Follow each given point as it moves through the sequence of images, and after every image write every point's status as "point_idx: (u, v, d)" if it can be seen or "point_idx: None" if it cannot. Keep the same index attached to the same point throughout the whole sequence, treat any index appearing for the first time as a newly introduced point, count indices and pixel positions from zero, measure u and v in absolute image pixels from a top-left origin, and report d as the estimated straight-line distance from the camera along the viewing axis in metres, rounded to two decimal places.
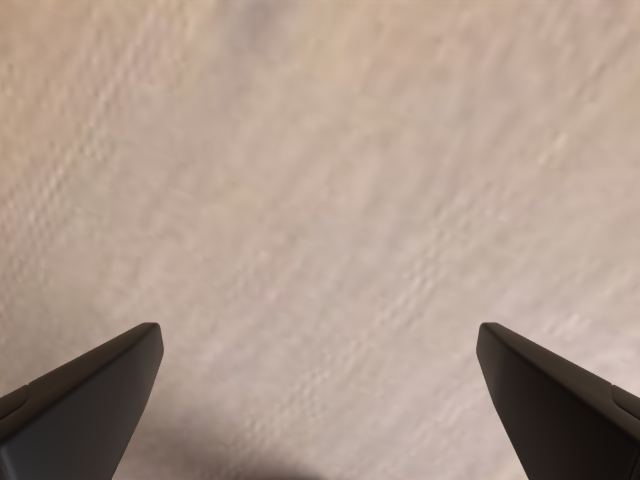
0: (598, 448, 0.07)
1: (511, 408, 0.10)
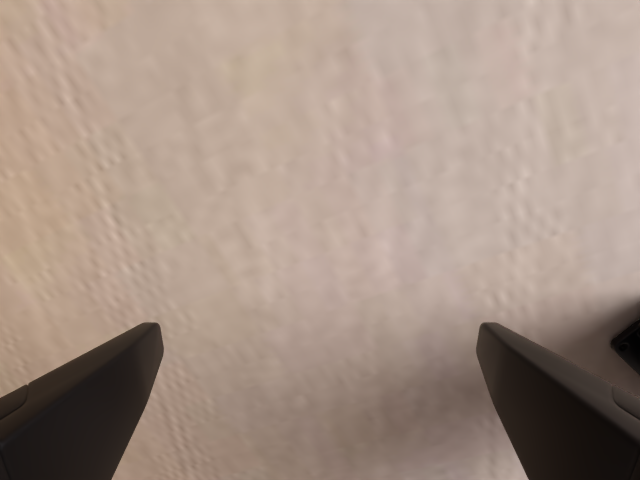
0: (597, 448, 0.07)
1: (511, 408, 0.10)
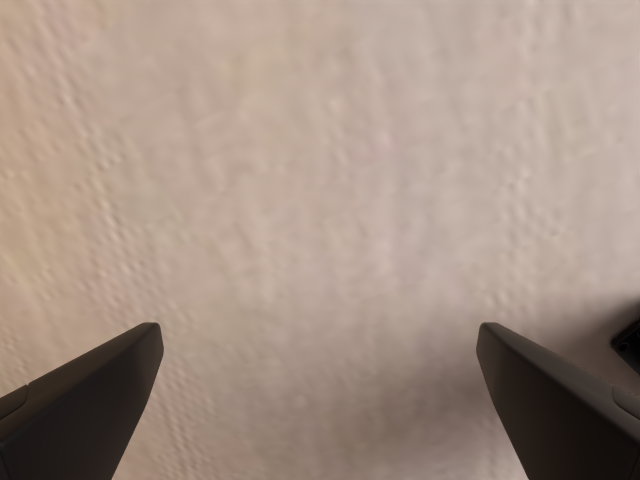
0: (597, 448, 0.07)
1: (511, 408, 0.10)
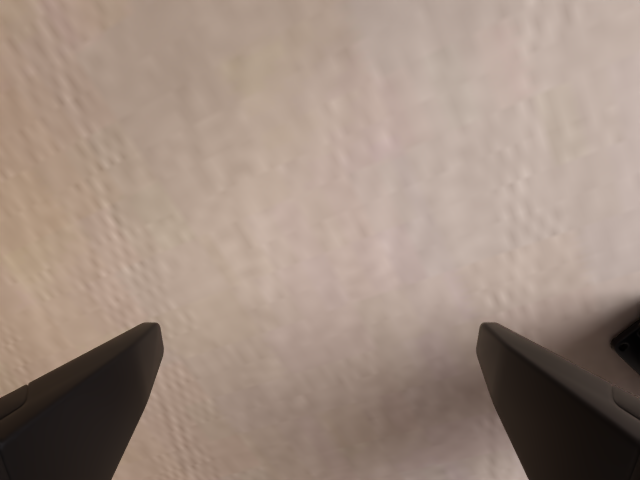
0: (597, 448, 0.07)
1: (511, 408, 0.10)
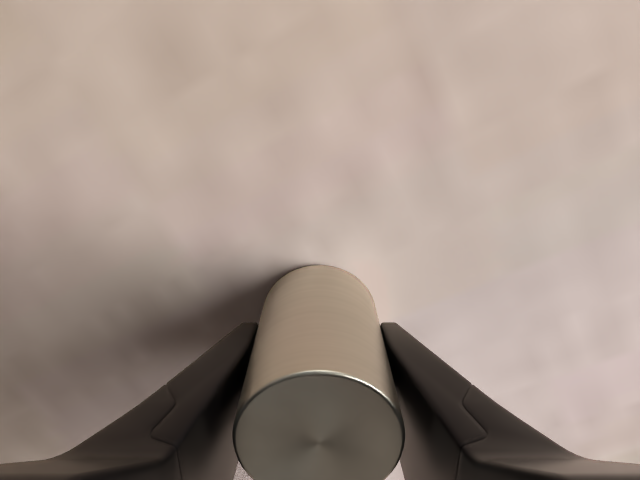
0: (438, 449, 0.07)
1: None
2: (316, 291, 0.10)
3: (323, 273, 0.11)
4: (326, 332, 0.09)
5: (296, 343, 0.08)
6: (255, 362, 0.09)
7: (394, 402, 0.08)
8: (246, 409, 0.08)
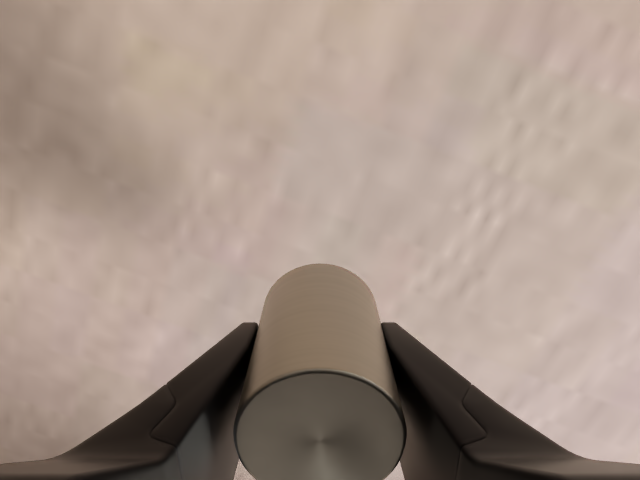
0: (438, 449, 0.07)
1: None
2: (317, 289, 0.10)
3: (324, 271, 0.11)
4: (326, 330, 0.09)
5: (297, 341, 0.08)
6: (256, 360, 0.09)
7: (395, 400, 0.08)
8: (247, 407, 0.08)
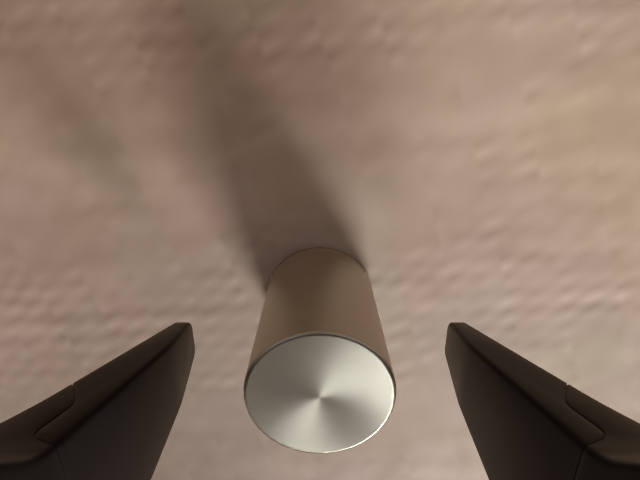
0: (546, 448, 0.07)
1: (474, 408, 0.10)
2: (317, 269, 0.11)
3: (323, 254, 0.12)
4: (326, 302, 0.10)
5: (299, 310, 0.09)
6: (263, 329, 0.10)
7: (386, 360, 0.09)
8: (256, 366, 0.09)
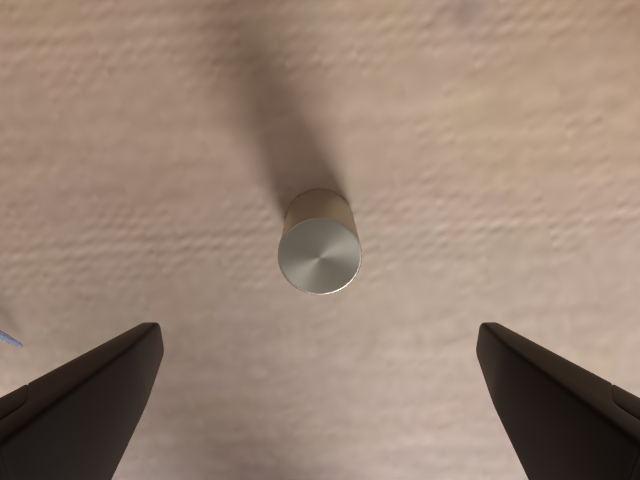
0: (598, 449, 0.07)
1: (511, 408, 0.10)
2: (318, 197, 0.19)
3: (322, 191, 0.20)
4: (323, 208, 0.17)
5: (308, 212, 0.17)
6: (287, 224, 0.17)
7: (356, 236, 0.16)
8: (285, 238, 0.16)
